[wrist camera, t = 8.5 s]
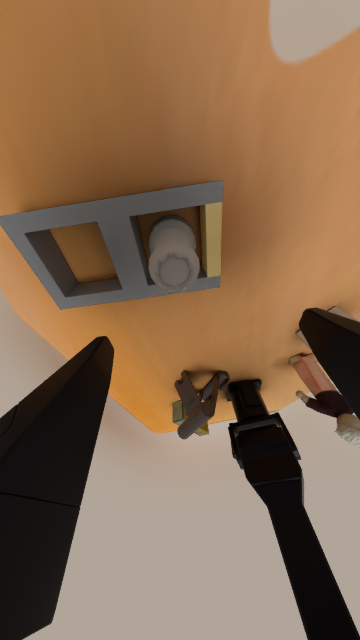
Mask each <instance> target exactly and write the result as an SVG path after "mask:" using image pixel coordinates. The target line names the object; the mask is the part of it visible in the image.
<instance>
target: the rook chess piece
mask: <svg viewBox="0 0 360 640" xmlns="http://www.w3.org/2000/svg"><path fill="white" fill-rule="evenodd" d="M148 245H149V249H150V253H151V257H150V259H149V266H148V269H149V273H150V276H151V278H152V280H153V281H154V282H155V284H156V285H157V286H159V288H162V289H164V290H167V292H168V293H173V294H174V292H176V291H181V292H184V291H186V290H187V289H189V288H188V287H190V286H191V285H192V284H193V283H194V281H195V280H196V279H197V277H198V273H199V270H200V265H199V258H198V257H197V255H196V253H195V249H196V239H195V233H194V231H193V229H192V227H191V225H190V224H189V223H188V222H186V221H185V220H184V219H183V218H180V217H177V216H173V215H172V216H166V217H162V218H161V219H160V220H158V221H157V222H156V223H154V225H153V227H152V229H151V231H150V233H149V241H148Z"/></svg>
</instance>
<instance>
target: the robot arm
mask: <svg viewBox="0 0 360 640" xmlns="http://www.w3.org/2000/svg"><path fill="white" fill-rule="evenodd" d="M299 328H300V330H301V332H302V334H303V335H304V337H305V339H306V341H307V343H308V345H309V346H310V348H311V350H312V352H313V354H314V355H315V357H316V358H317V360H318V361H319V363H320V364H321V366H322V367H323V369H324V370H325V372H326V373H327V374H328V376H329V377H330V379H331V380H332V381H333V383H334V384H335V386H336V387H337V389H338V390H339V392H340V393H341V394H342V396H343V397H344V399H345V400H346V402H347V403H348V404H349V406H350V407H351V409H352V410H353V412H354V413H355V414H356V416H357V417H358V419H359V420H360V322H358V321H355V320H352V319H349V318H346V317H343V316H340V315H337V314H334V313H331V312H328V311H325V310H322V309H319V308H309V309H306V310H305V311H304V312H303V315H302V317H301V319H300V322H299ZM113 358H114V348H113V346H112V344H111V342H110V340H109V339H108V337H107V336H100V337H97V338H95V339H94V340H93V341H92V342H91V343H89V344H88V345H87V346H86V347H85V348H83V349H82V350H81V351H80V352H79V353H77V354H76V355H75V356H74V357H73V358H72V359H70V360H69V361H68V362H67V363H66V364H65V365H63V366H62V367H61V368H60V369H58V370H57V371H56V372H55V373H54V374H53V375H51V376H50V377H49V378H48V379H46V380H45V381H44V382H43V383H42V384H41V385H39V386H38V387H37V388H36V389H35V390H33V391H32V392H31V393H30V394H29V395H28V396H26V397H25V398H24V399H23V400H22V401H20V402H19V404H17V405H16V406H14V407H13V408H12V409H11V410H10V411H8V412H7V413H6V414H5V415H4V416H2V417H1V418H0V640H22V639H24V638H26V637H28V636H29V635H31V634H33V633H35V632H37V631H39V630H40V629H42V628H44V627H46V626H48V625H49V624H51V623H52V620H53V617H54V613H55V610H56V606H57V602H58V597H59V593H60V589H61V585H62V581H63V577H64V573H65V568H66V564H67V560H68V556H69V552H70V548H71V544H72V540H73V536H74V531H75V527H76V523H77V519H78V515H79V511H80V506H81V502H82V498H83V494H84V489H85V485H86V481H87V477H88V473H89V469H90V465H91V461H92V456H93V452H94V448H95V444H96V440H97V436H98V432H99V427H100V423H101V419H102V415H103V411H104V407H105V403H106V399H107V395H108V390H109V386H110V381H111V374H112V366H113ZM261 384H262V381H261V380H253V381H244V382H236V383H229V384H228V387H227V397H226V399H227V401H232V405H233V408H234V411H235V415H236V418H237V421H238V422H236V423H229V427H228V430H229V434H230V438H231V447H232V455H233V458H235V459H236V460H237V462H238V464H239V466H240V468H241V469H244V472H245V476H246V478H247V480H248V481H249V483H250V484H251V485H252V487H253V488H254V489H255V491H256V492H257V494H258V495H259V496H260V498H261V499H262V500H263V502H264V503H265V504H266V506H267V508H268V510H269V514H270V517H271V520H272V524H273V527H274V530H275V534H276V537H277V540H278V543H279V546H280V550H281V553H282V557H283V560H284V563H285V566H286V570H287V573H288V576H289V579H290V583H291V586H292V589H293V593H294V596H295V599H296V603H297V606H298V609H299V612H300V616H301V619H302V622H303V625H304V629H305V632H306V635H307V639H308V640H360V636H359V633H358V631H357V629H356V627H355V624H354V622H353V620H352V617H351V615H350V613H349V610H348V608H347V606H346V604H345V601H344V599H343V596H342V594H341V592H340V590H339V587H338V585H337V583H336V580H335V578H334V576H333V573H332V571H331V569H330V566H329V564H328V561H327V559H326V557H325V554H324V552H323V550H322V548H321V545H320V543H319V541H318V538H317V536H316V534H315V531H314V529H313V527H312V524H311V522H310V520H309V517H308V515H307V513H306V510H305V508H304V479H303V474H302V469H301V467H300V465H299V463H298V460H301V457H300V455H299V452H298V450H297V447H296V445H295V443H294V441H293V439H292V437H291V435H290V433H289V431H288V430H287V428H286V426H285V424H284V422H283V420H282V418H281V417H280V415H279V413H278V412H277V413H275V414H272V415H269V412H268V410H267V408H266V406H265V403H264V401H263V399H262V397H261V395H260V392H259V390H260V387H261ZM277 426H279V427H277Z"/></svg>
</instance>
